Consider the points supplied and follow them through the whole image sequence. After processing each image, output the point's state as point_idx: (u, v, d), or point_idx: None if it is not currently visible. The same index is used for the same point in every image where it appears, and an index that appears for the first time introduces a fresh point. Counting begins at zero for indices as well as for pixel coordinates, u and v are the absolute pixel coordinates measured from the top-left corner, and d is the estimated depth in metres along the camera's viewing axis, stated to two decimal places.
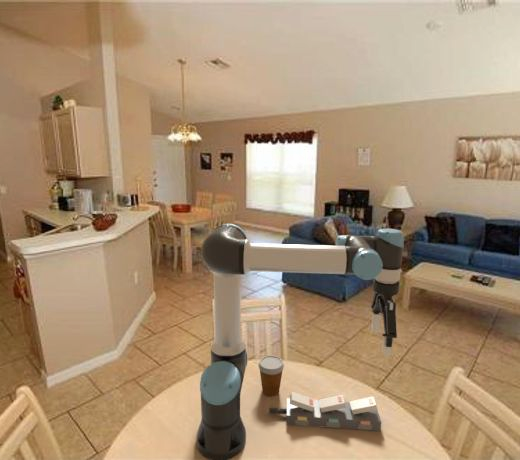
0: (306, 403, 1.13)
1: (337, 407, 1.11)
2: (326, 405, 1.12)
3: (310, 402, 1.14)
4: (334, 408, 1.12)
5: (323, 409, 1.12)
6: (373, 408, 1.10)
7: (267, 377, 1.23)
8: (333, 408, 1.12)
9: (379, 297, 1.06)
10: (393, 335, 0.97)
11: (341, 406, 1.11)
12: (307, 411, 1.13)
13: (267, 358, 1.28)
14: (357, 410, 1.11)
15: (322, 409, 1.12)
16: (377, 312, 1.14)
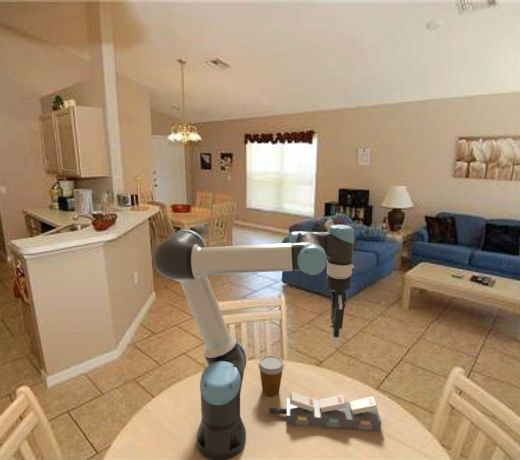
0: (306, 403, 1.13)
1: (337, 407, 1.11)
2: (326, 405, 1.12)
3: (310, 402, 1.14)
4: (334, 408, 1.12)
5: (323, 409, 1.12)
6: (373, 408, 1.10)
7: (267, 377, 1.23)
8: (333, 408, 1.12)
9: None
10: (339, 327, 1.06)
11: (341, 406, 1.11)
12: (307, 411, 1.13)
13: (267, 358, 1.28)
14: (357, 410, 1.11)
15: (322, 409, 1.12)
16: None
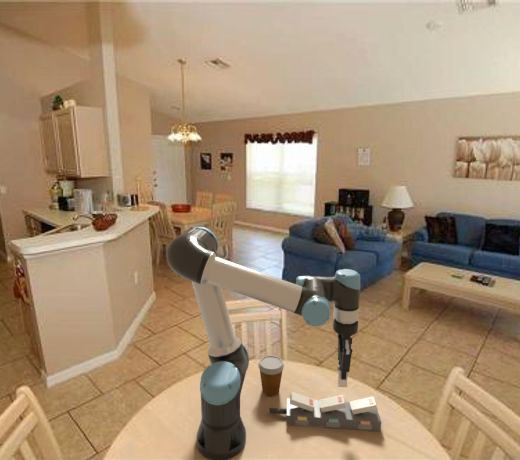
0: (306, 403, 1.13)
1: (337, 407, 1.11)
2: (326, 405, 1.12)
3: (310, 402, 1.14)
4: (334, 408, 1.12)
5: (323, 409, 1.12)
6: (373, 408, 1.10)
7: (267, 377, 1.23)
8: (333, 408, 1.12)
9: None
10: (346, 371, 1.07)
11: (341, 406, 1.11)
12: (307, 411, 1.13)
13: (267, 358, 1.28)
14: (357, 410, 1.11)
15: (322, 409, 1.12)
16: None
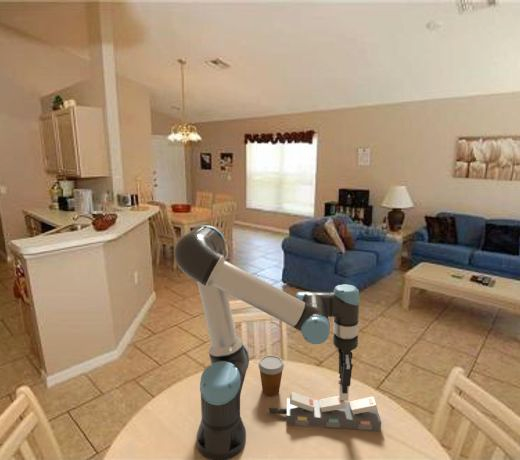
0: (306, 403, 1.13)
1: (337, 407, 1.11)
2: (326, 405, 1.12)
3: (310, 402, 1.14)
4: (334, 408, 1.12)
5: (323, 409, 1.12)
6: (373, 408, 1.10)
7: (267, 377, 1.23)
8: (333, 408, 1.12)
9: None
10: (347, 385, 1.08)
11: (341, 406, 1.11)
12: (307, 411, 1.13)
13: (267, 358, 1.28)
14: (357, 410, 1.11)
15: (322, 409, 1.12)
16: None
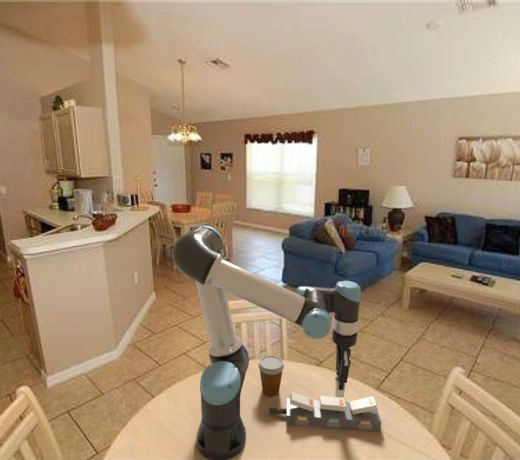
0: (306, 403, 1.13)
1: (337, 408, 1.11)
2: (327, 403, 1.12)
3: (310, 402, 1.14)
4: (334, 408, 1.12)
5: (323, 406, 1.12)
6: (373, 408, 1.10)
7: (267, 377, 1.23)
8: (333, 408, 1.12)
9: None
10: (344, 381, 1.07)
11: (341, 408, 1.11)
12: (307, 411, 1.13)
13: (267, 358, 1.28)
14: (357, 410, 1.11)
15: (322, 406, 1.12)
16: None
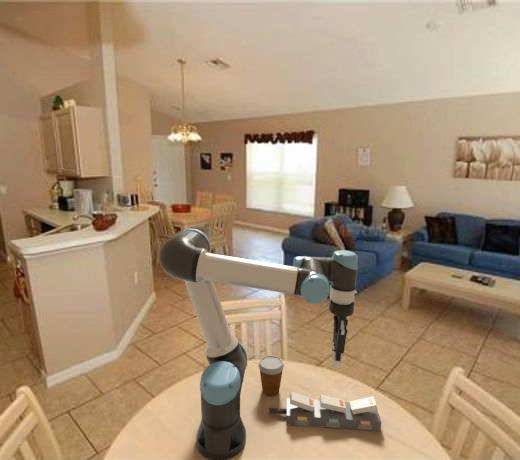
0: (306, 403, 1.13)
1: (337, 409, 1.12)
2: (327, 402, 1.12)
3: (310, 402, 1.14)
4: (333, 408, 1.12)
5: (323, 405, 1.12)
6: (373, 408, 1.10)
7: (267, 377, 1.23)
8: (333, 408, 1.12)
9: None
10: (340, 352, 1.07)
11: (341, 409, 1.11)
12: (307, 411, 1.13)
13: (267, 358, 1.28)
14: (357, 410, 1.11)
15: (322, 404, 1.12)
16: None
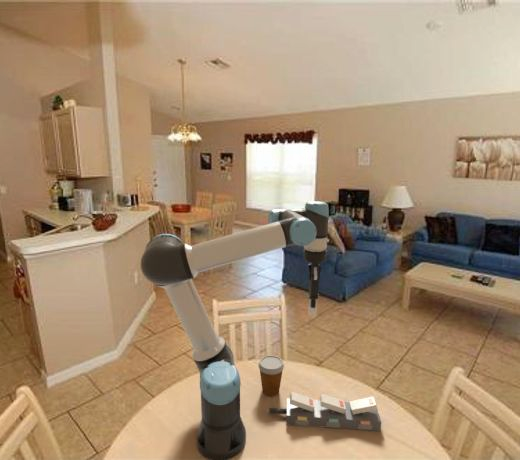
0: (306, 403, 1.13)
1: (337, 409, 1.12)
2: (328, 402, 1.12)
3: (310, 402, 1.14)
4: (333, 408, 1.12)
5: (323, 404, 1.12)
6: (373, 408, 1.10)
7: (267, 377, 1.23)
8: (333, 408, 1.12)
9: None
10: (315, 298, 1.13)
11: (341, 410, 1.12)
12: (307, 411, 1.13)
13: (267, 358, 1.28)
14: (357, 410, 1.11)
15: (323, 404, 1.12)
16: None
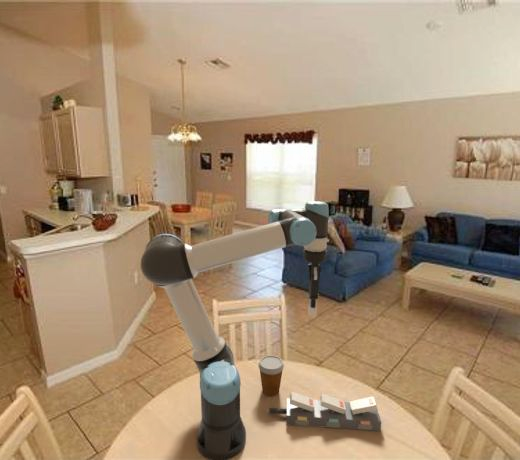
0: (306, 403, 1.13)
1: (336, 409, 1.12)
2: (328, 402, 1.12)
3: (310, 402, 1.14)
4: (333, 409, 1.12)
5: (324, 404, 1.12)
6: (373, 408, 1.10)
7: (267, 377, 1.23)
8: (333, 408, 1.12)
9: None
10: (315, 297, 1.13)
11: (340, 410, 1.12)
12: (307, 411, 1.13)
13: (267, 358, 1.28)
14: (357, 410, 1.11)
15: (323, 403, 1.12)
16: None
